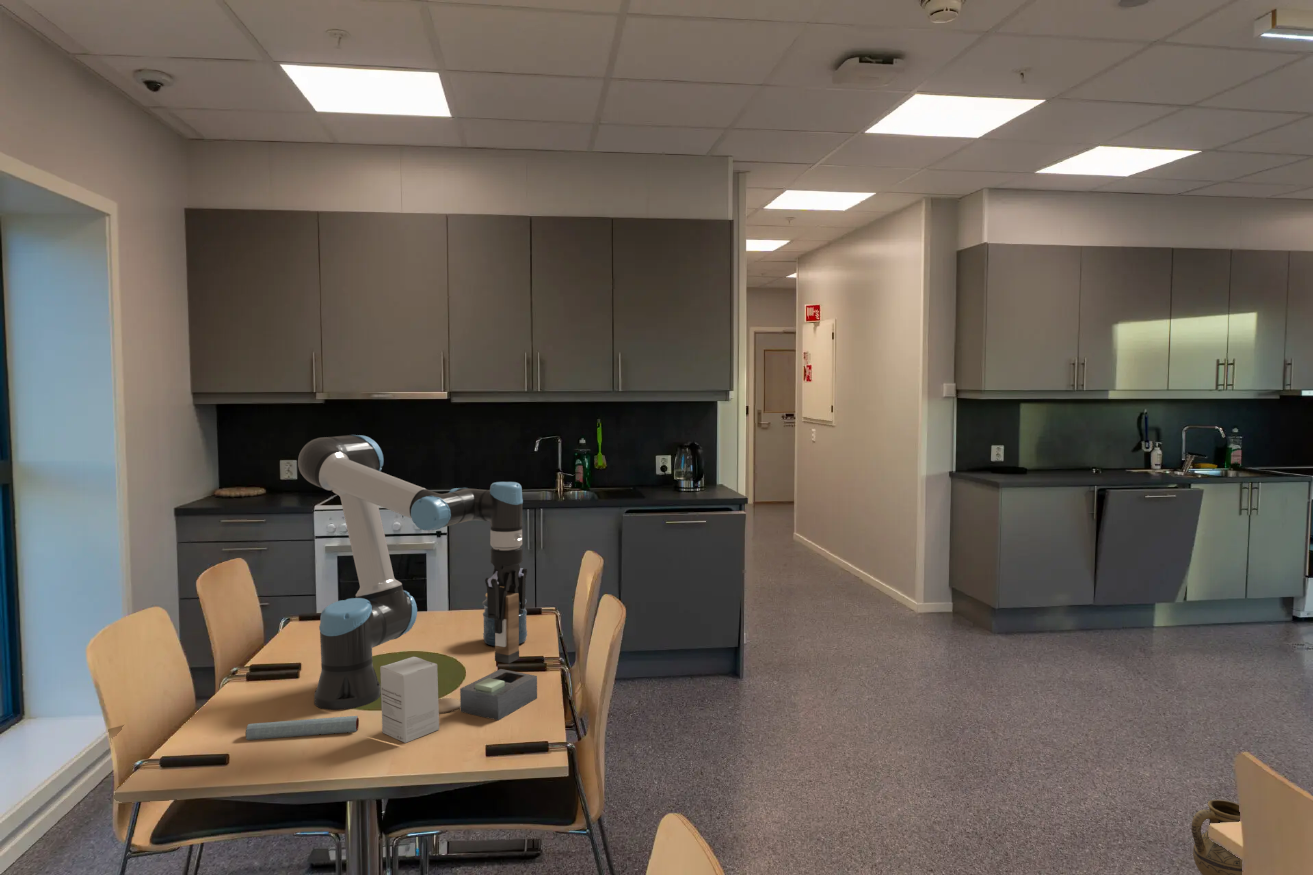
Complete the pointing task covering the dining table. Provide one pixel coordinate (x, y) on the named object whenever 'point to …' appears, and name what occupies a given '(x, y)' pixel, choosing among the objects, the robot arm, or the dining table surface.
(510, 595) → the walnut bar
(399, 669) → the supplement box
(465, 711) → the grey slotted holder
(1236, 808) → the decorative pitcher
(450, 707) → the coaster
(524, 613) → the canister
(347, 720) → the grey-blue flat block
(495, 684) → the on button
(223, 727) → the dining table surface
